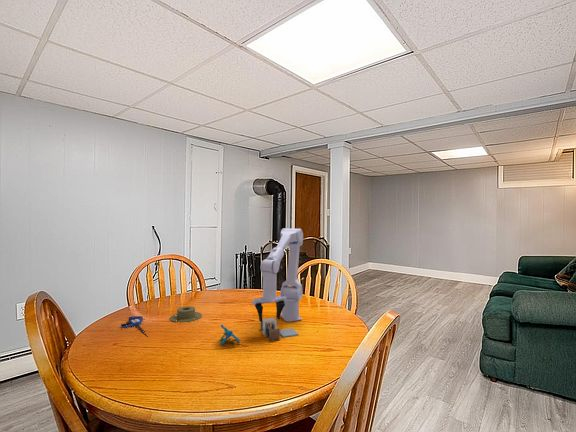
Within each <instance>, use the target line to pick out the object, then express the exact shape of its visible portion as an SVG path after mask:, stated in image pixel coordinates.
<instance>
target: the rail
mask: <svg viewBox="0 0 576 432" xmlns="http://www.w3.org/2000/svg"><path fill="white" fill-rule="evenodd" d="M259 322H260V321H259ZM259 324H260V329H259V330H261V331H263V319H262V322H260V323H259ZM280 330H281V329H279V328H277V329H272V325H271V324H268V341H269V342H276V341H280V340H281V338H280V337H281V335H280Z"/></svg>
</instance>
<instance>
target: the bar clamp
mask: <svg viewBox="0 0 576 432" xmlns="http://www.w3.org/2000/svg"><path fill="white" fill-rule="evenodd" d="M143 319H144V318H143V316H140V315H138V316H137V315H134V316H129V317H128V322H126V323H121V324H120V327H121V326H122V327H121V329H122V328H127V327H130V328H132V327H131V326H135V327H137V328H138V330H139V331H140V332H142V333H143V334H144V332H146V331H145V330H144V329H143V328H142V327H141V324H142V323H143V322H144V320H143ZM129 321H130V322H129ZM142 321H143V322H142ZM141 322H142V323H141ZM139 324H140V325H139ZM126 325H127V326H126ZM127 329H128V328H127ZM143 331H144V332H143Z"/></svg>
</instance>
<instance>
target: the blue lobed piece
mask: <svg viewBox="0 0 576 432" xmlns="http://www.w3.org/2000/svg"><path fill="white" fill-rule="evenodd" d="M219 326H220V327H221V329H223V333H222V334H223V335H222V336H221V337H220V338H219V339H220V341H221V342H220V344H221V345H224V344H225V343H226V341H227V340H228V339H230V338H231V337H232V338H234V340H236V342H238V343H240V342H241V339H239V338H238V337H237V336H236V335H234V333H233V330H229V329H228V328H226V327H225V326H224V325H223V324H220V325H219Z"/></svg>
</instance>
